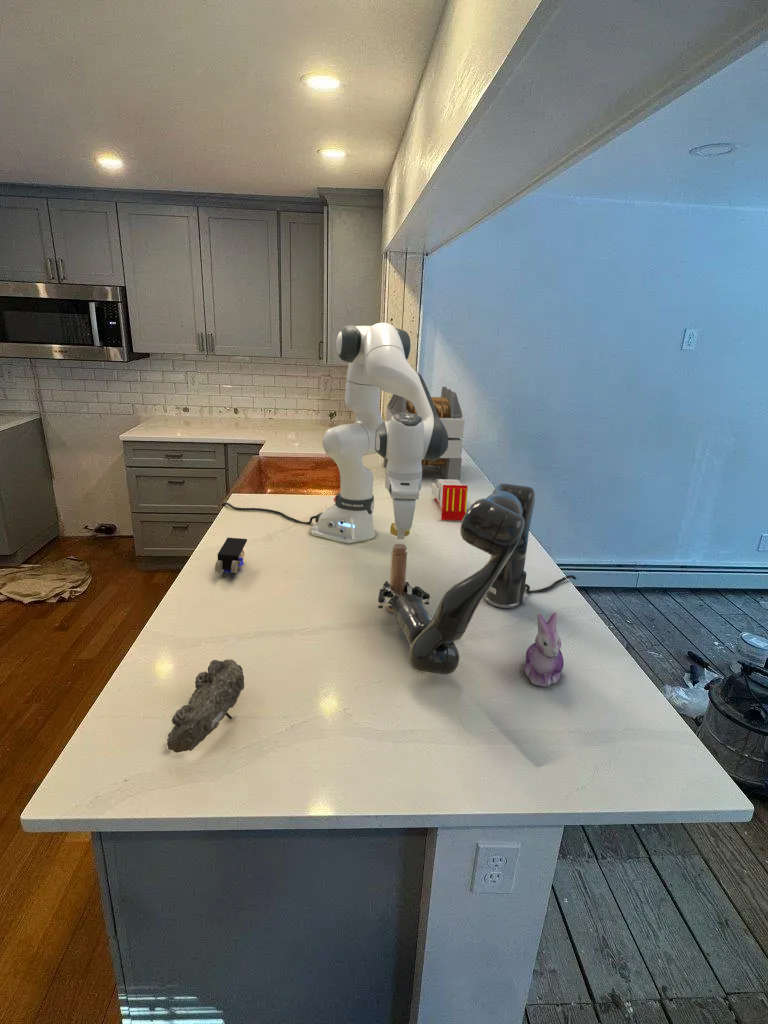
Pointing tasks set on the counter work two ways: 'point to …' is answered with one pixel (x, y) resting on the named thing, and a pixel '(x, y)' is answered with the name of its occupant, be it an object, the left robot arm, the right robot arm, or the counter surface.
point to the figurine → (545, 653)
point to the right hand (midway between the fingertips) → (394, 584)
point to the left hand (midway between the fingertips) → (399, 533)
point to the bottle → (398, 568)
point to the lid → (394, 531)
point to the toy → (451, 498)
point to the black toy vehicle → (230, 556)
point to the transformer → (452, 422)
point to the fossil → (206, 705)
